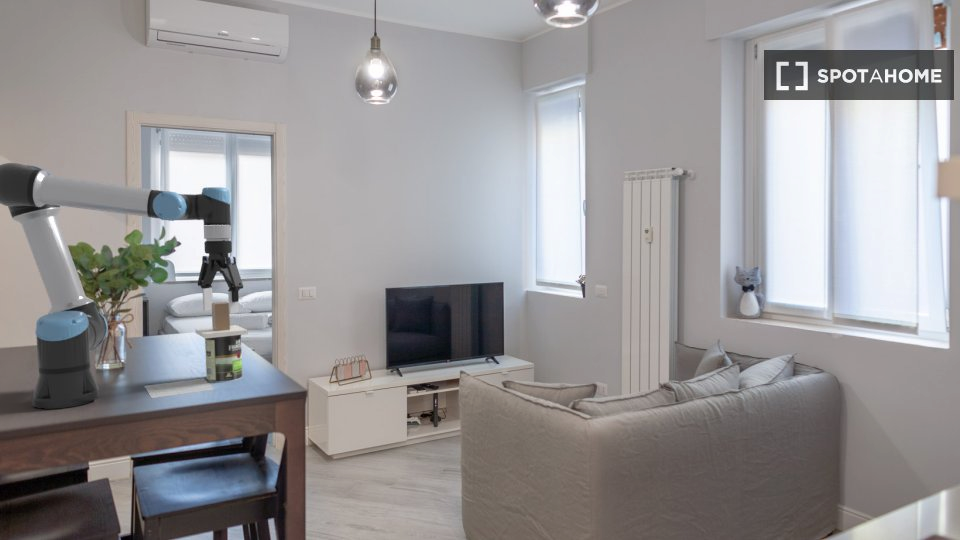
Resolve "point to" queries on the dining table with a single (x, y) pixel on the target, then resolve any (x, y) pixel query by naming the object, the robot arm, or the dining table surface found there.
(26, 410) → the dining table surface
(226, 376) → the coffee can
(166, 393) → the mat
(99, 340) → the robot arm
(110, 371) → the dining table surface
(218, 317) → the square plate with block
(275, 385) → the dining table surface
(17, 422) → the dining table surface
